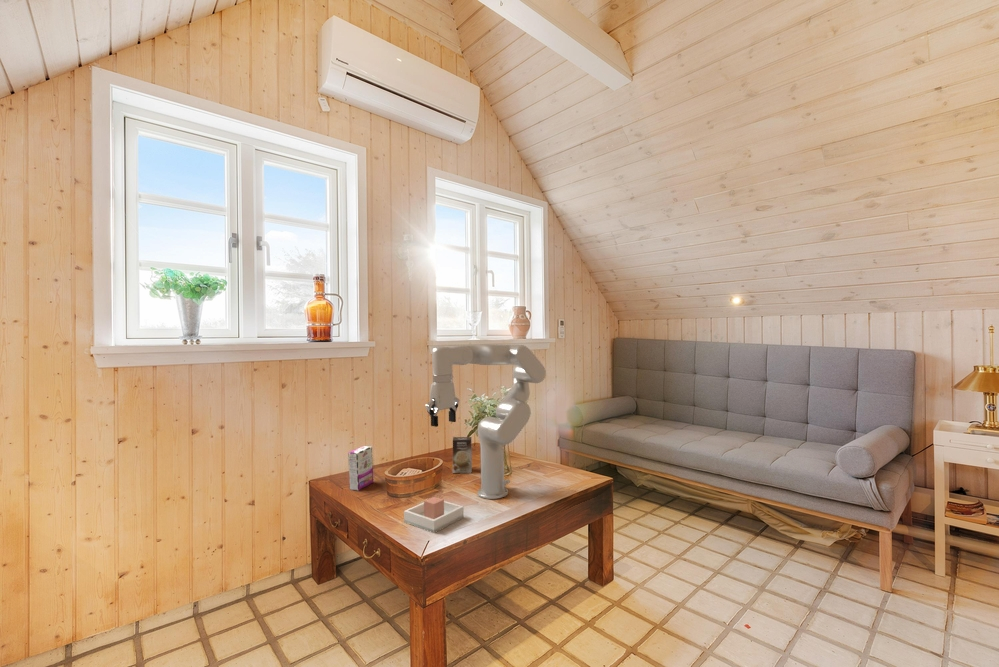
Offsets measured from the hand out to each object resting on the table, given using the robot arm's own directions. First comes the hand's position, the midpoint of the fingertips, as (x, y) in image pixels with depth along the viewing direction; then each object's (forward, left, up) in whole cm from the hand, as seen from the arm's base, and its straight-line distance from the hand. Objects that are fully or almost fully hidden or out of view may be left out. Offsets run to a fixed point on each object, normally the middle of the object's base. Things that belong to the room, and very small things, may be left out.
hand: (443, 423), depth 171 cm
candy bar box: (+3, -48, -32) cm, 58 cm away
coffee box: (-37, -24, -32) cm, 55 cm away
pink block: (+10, +4, -31) cm, 33 cm away
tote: (+10, +4, -32) cm, 34 cm away
